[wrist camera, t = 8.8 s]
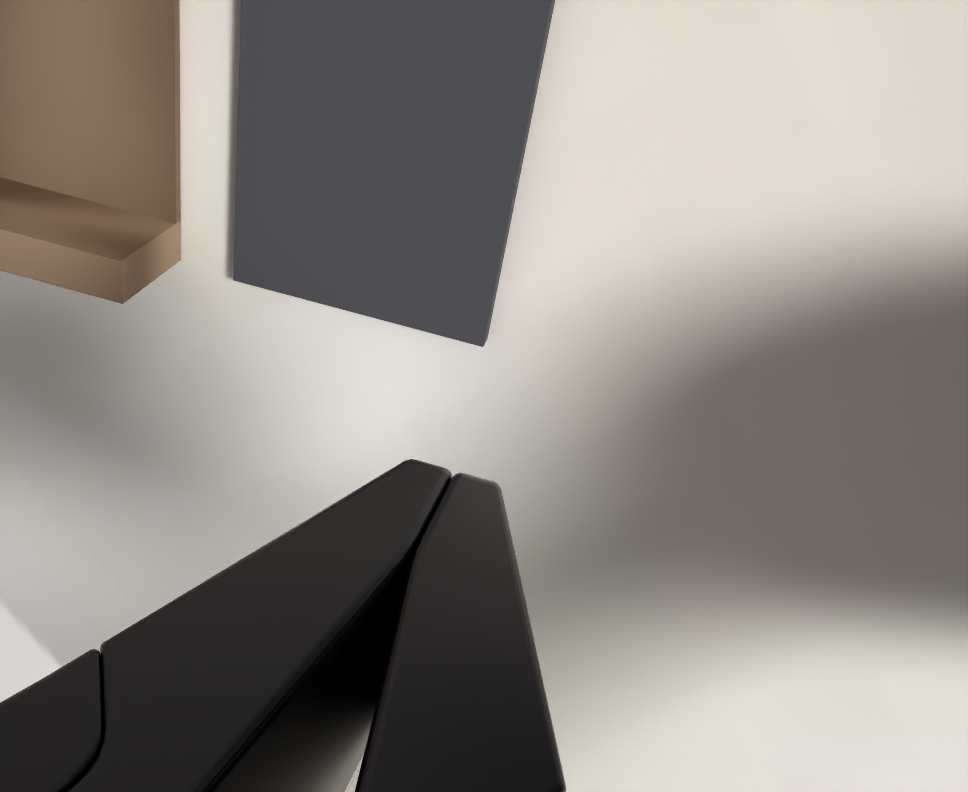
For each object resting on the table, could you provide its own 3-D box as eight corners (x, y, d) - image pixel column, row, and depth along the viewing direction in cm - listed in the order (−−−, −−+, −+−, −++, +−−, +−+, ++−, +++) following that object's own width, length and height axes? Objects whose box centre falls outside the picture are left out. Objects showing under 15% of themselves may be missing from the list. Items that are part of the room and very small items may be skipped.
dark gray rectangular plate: (575, -101, 16) (572, -101, 16) (487, 338, 21) (483, 346, 21) (255, -170, 17) (245, -171, 17) (241, 273, 22) (233, 280, 21)
